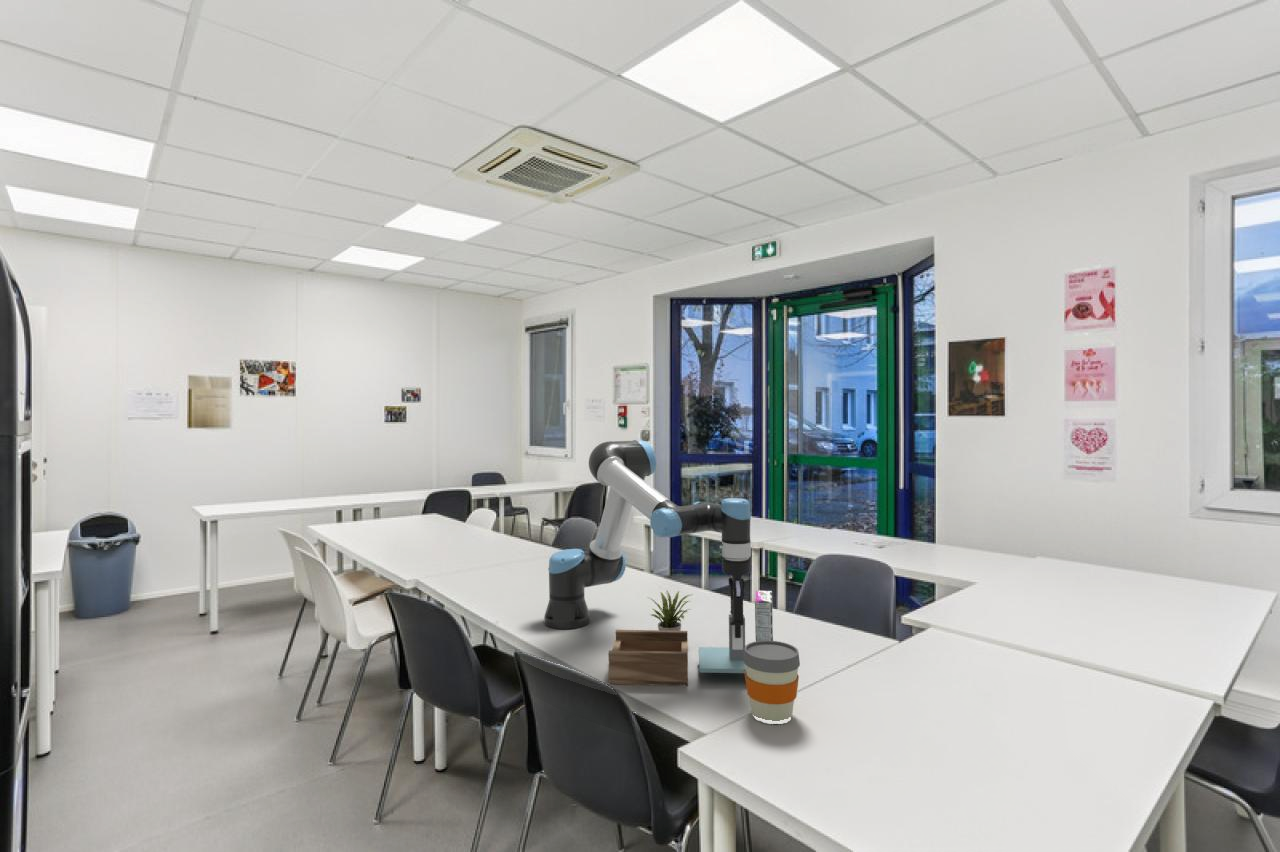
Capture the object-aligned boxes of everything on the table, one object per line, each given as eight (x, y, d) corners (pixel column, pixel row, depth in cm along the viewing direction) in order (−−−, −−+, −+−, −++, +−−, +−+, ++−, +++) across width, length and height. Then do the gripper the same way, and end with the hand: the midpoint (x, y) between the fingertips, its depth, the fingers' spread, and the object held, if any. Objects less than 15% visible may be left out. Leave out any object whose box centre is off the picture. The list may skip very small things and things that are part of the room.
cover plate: (698, 650, 175) (698, 607, 175) (771, 651, 174) (771, 608, 174) (699, 672, 160) (699, 625, 160) (779, 673, 159) (779, 626, 159)
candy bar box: (755, 644, 188) (755, 589, 188) (773, 645, 187) (772, 590, 187) (755, 658, 177) (754, 600, 177) (773, 660, 176) (772, 601, 176)
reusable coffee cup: (789, 734, 135) (789, 664, 135) (734, 720, 142) (734, 653, 141) (807, 711, 146) (807, 646, 145) (755, 698, 152) (755, 636, 152)
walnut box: (616, 659, 178) (616, 629, 178) (687, 660, 177) (687, 630, 176) (608, 684, 161) (608, 652, 161) (687, 686, 159) (687, 653, 159)
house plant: (707, 645, 188) (707, 590, 188) (677, 658, 178) (677, 600, 178) (670, 634, 198) (670, 582, 198) (640, 646, 188) (640, 591, 188)
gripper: (720, 551, 175) (721, 635, 175) (723, 564, 159) (724, 657, 159) (747, 551, 174) (748, 636, 175) (753, 564, 158) (754, 658, 159)
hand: (737, 646), depth 167 cm, fingers closed on cover plate, 3 cm apart
